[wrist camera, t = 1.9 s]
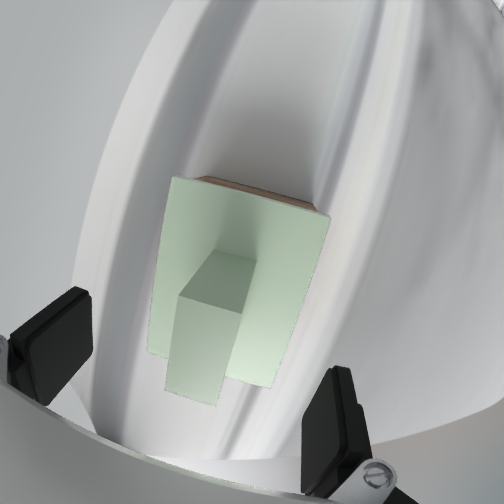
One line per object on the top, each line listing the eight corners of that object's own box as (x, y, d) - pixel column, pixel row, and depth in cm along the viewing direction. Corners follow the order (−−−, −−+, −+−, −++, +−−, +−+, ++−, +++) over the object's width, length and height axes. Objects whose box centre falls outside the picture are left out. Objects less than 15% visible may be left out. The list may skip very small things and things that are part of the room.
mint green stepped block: (271, 370, 21) (263, 459, 14) (156, 336, 21) (106, 409, 14) (326, 212, 18) (356, 251, 10) (183, 174, 18) (115, 187, 10)
